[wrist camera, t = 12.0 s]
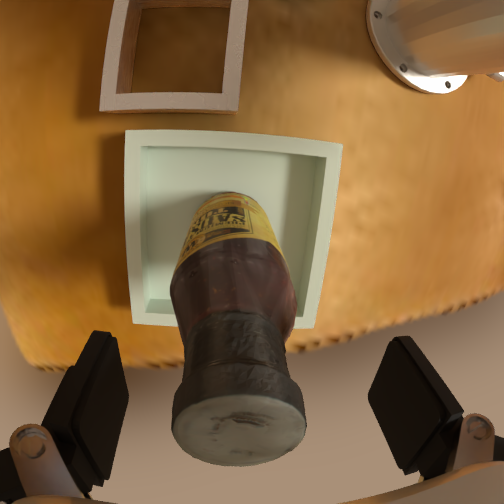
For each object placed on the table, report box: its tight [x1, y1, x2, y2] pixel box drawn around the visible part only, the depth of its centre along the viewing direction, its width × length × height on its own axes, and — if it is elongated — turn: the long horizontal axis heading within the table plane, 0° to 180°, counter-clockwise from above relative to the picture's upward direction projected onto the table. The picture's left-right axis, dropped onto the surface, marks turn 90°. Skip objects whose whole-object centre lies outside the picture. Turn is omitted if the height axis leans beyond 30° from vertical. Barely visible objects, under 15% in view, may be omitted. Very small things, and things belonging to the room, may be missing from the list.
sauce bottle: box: [170, 191, 307, 467], centre depth 17 cm, size 6×6×20 cm
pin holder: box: [99, 0, 249, 115], centre depth 20 cm, size 10×11×4 cm
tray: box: [124, 130, 343, 329], centre depth 26 cm, size 16×16×4 cm
